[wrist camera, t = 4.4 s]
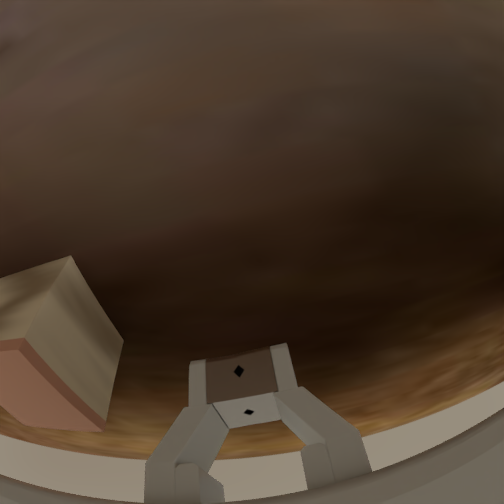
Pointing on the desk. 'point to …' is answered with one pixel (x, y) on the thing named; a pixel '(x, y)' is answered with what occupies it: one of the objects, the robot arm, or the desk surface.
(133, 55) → the desk surface
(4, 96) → the desk surface
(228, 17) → the desk surface
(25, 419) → the birch cube
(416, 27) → the desk surface
